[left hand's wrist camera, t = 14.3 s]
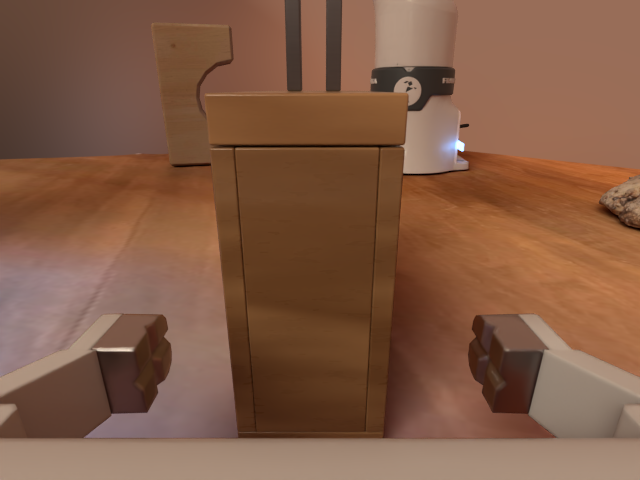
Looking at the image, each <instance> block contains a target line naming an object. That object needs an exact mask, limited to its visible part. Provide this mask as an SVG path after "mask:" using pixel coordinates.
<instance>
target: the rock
mask: <svg viewBox="0 0 640 480" xmlns="http://www.w3.org/2000/svg"><path fill="white" fill-rule="evenodd" d="M599 204H601V205H604V206H606V207H607V208H608V209H609V210H610V211H611V212H612V213H614V214H616V215H618V216H619V218H620V221H621V222H624V223H625V224H627V225H629V226H633V227H637V228H640V175H637V176H635V177H629V180H628V181H626V182H624V183H623V184H621V185H619V186H617V187H614V188H612V189H611V190H609V191H607V192H606V193H605V194H604V195H603V196H602V197H601V199H600V201H599Z"/></svg>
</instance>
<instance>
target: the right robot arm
mask: <svg viewBox="0 0 640 480" xmlns="http://www.w3.org/2000/svg"><path fill="white" fill-rule="evenodd" d="M373 4H374V10H375V27H376V47H375V69H373V70H372V76H371V80H370V84H371V91H372V92H398V93H407V94H408V95H409V100H408V114H407V127H406V140H405V144H404V145H400V146H402V147H403V148H404V149H405V154H404V168H403V173H407V174H426V173H439V172H446V171H451V170H466V169H469V162H467V161H466V160H464V159H463V158H461V157H460V156H458V155H457V150H458V149H459V150H460V151H463V150H464V144H463V143H462V142H460V141H459V130H460V128H463V127H468V126H469V124H463V125H460V119H461V112H460V111H459V110H458V108H457V107H456V106H455V105H454V104H453V102H452V100H451V96H450V95H452V94H453V88H454V83H455V69H454V68H452V67H453V57H454V48H455V39H456V30H457V20H458V11H457V7H456V4H455V2H454V0H373Z"/></svg>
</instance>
